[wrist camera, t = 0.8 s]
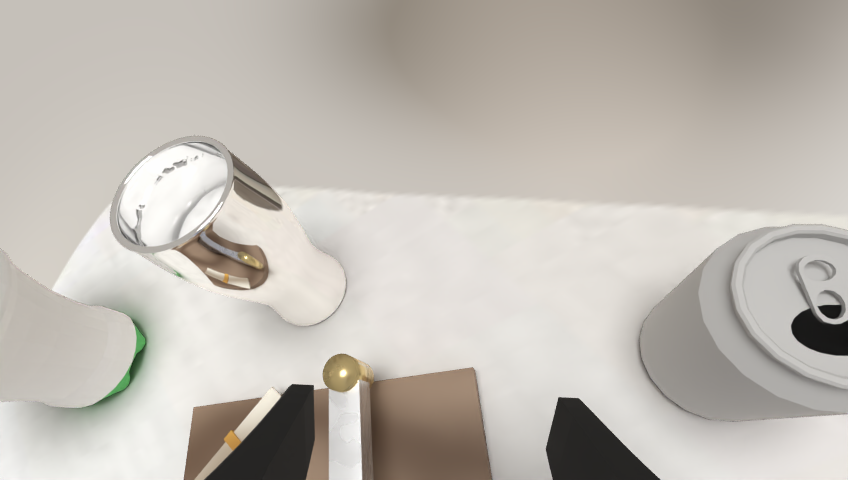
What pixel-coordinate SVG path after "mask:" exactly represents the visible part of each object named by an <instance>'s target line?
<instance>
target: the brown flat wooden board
mask: <svg viewBox="0 0 848 480" xmlns="http://www.w3.org/2000/svg"><path fill="white" fill-rule="evenodd" d="M281 396H282V395H280V394H279V393H278V392H277V391H276V390H275V389H274V387H271V388H270V389H269V391H268V392H267V393H266V394H265V395H264V397H263V398H256V399H249V400H242V401H235V402H228V403H221V404H214V405H207V406H200V407H194V409H193V416H192V423H191V430H190V438H189V445H188V452H187V459H186V467H185V474H184V480H204V479H205V478H206V477H207V476H208V475H209V474H210V473H211V472H212V471H213V470H214V469H215V468H216V467H217V466H218V465H219V464H220V463H221V462H222V461H223V460H224V459H225V458H226V457H227V456H228V455H229V454H230V453H231V452H232V451H233V450H234V449H235V448H236V447H237V446H238V445H239V444H240V443H241V442H242V441H243V440H244V439H245V438H246V437H247V436H248V434H249V433H250V432H251V431H252V430H253V429H254V428H255V427H256V426H257V425H258V423H259V422H260V421H261V420H262V419H263V418H264V417H265V415H266V414H267V413H268V412H269V411H270V410H271V408H272V407H273V406H274V405H275V404H276V402H277V401H278V400H279V399H280V397H281ZM370 410H371V434H372V457H373V480H492V476H491V470H490V463H489V457H488V451H487V444H486V438H485V431H484V425H483V419H482V412H481V406H480V399H479V393H478V387H477V380H476V374H475V370H474V368H466V369H459V370H452V371H445V372H438V373H431V374H424V375H417V376H410V377H403V378H396V379H389V380H382V381H375V382H373V384H372V386H371V388H370ZM314 420H315V441H314V446H313V451H312V455H311V460H310V464H309V469H308V473H307V477H306V480H329V388H326V389H319V390H314Z"/></svg>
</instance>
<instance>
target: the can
mask: <svg viewBox="0 0 848 480" xmlns="http://www.w3.org/2000/svg"><path fill="white" fill-rule="evenodd" d="M640 348H641V357H642V360H643V363H644V365H645V367H646V369H647V371H648V374H649V376H650V378H651V379H652V381H653V382H654V383H655V384H656V385H657V387H658V388H659V389H660V390H661V391H662V392H663V394H664V395H665V396H666V397H667V398H669V399H670V400H672V401H673V402H674V403H676V404H677V405H679V406H680V407H681V408H683V409H684V410H686V411H688V412H691V413H694V414H696V415H699V416H701V417H704V418H707V419H710V420H721V421H732V422H734V421H749V420H764V419H780V418H795V417H811V416H826V415H841V414H848V230H845V229H841V228H836V227H832V226H827V225H823V224H792V225H788V226H784V227H764V228H760V229H756V230H753V231H749V232H745V233H742V234H738V235H737V236H735V237H734V238H732V239H731V240H729V241H728V242H726V243H725V244H723V245H722V246H720V247H719V248H717V249H716V250H715V251H714V252H713V253H712V254H711V255H710V256H709V257H707V258H706V259H705V260H704V261H703V262H702V263H701V264H700V265H699V266H698V267H697V268H696V269H695V270H694V271H693V272H691V273H690V274H689V275H688V276H687V277H686V278H685V279H684V280H683V281H682V282H681V283H680V284H679V285H678V286H677V287H676V288H674V289H673V290H672V291H671V292H670V293H669V294H668V295H667V296H666V297H665V298H664V299H663V300H662V301H661V302H660V303H658V304H657V305H656V306H655V307H654V308H653V310H652V311H651V313H650V314H649V315H648V317H647V318H646V320H645V321H644V323H643V327H642V331H641V335H640Z"/></svg>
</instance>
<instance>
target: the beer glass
mask: <svg viewBox="0 0 848 480" xmlns="http://www.w3.org/2000/svg"><path fill="white" fill-rule="evenodd" d="M110 225H111V230H112V232H113V235H114V237H115V238H116V240H117V241H118V242H119V243H120V244H121V245H122V246H123V247H125V248H126V249H128V250H130V251H133V252H135V253H137V254H139V255H140V256H142V257H144V258H145V259H147V260H148V261H150V262H152V263H153V264H155V265H157V266H158V267H160V268H162V269H164V270H165V271H167V272H169V273H170V274H172V275H174V276H176V277H178V278H180V279H182V280H184V281H186V282H188V283H190V284H192V285H195V286H197V287H200V288H202V289H205V290H207V291H210V292H213V293H216V294H220V295H224V296H227V297H231V298H236V299H241V300H246V301H251V302H256V303H261V304H265V305H268V306H270V307H272V308H273V309H274V310H275V311H276V312H277V313H278V314H279V315H280V316H281V317H282V318H283V319H284V320H286V321H287V322H289V323H291V324H294V325H298V326H310V325H314V324H317V323H320V322H322V321H324V320H325V319H327V318H328V317H329V316H330V315H332V314H333V313H334V312H335V310H336V309H337V308H338V306H339V305H340V303H341V301H342V299H343V297H344V294H345V290H346V276H345V273H344V270H343V268H342V266H341V265H340V263H339V262H338V261H337V260H336V259H335V258H333V257H332V256H330V255H328V254H326V253H324V252H322V251H320V250H318V249H317V248H315V247H314V245H313V244H312V243H311V241H310V240H309V238H308V236H307V235H306V233H305V231H304V230H303V228H302V226H301V225H300V223H299V221H298V220H297V218H296V216H295V215H294V213H293V212H292V211H291V209H290V208H289V206H288V205H287V204H286V202H285V201H284V200H283V199H282V198H281V197H280V196H279V194H278V193H277V192H276V191H275V190H274V189H273V188H272V187H271V186H270V185H269V184H268V183H267V182H266V181H265V180H264V179H262V178H261V177H260V176H259V175H258V174H257V173H256V172H255V171H253V170H252V169H251V168H250V167H249V166H247V165H246V164H245V163H244V162H242V161H241V160H240V159H239V158H238V157H236V156H235V155H234V154H233V153H231V152H230V151H229V150H228V149H227V148H226V147H225V146H224V145H223V144H222V143H220V142H219V141H217V140H215V139H213V138H210V137H205V136H189V137H183V138H179V139H176V140H173V141H171V142H168V143H166V144H164V145H162V146H160V147H158V148H157V149H155V150H153V151H152V152H150V153H149V154H148V155H146V156H145V157H144V158H143V159H142V160H141V161H139V162H138V163H137V164H136V165H135V166H134V167H133V168H132V170H131V171H130V172H129V173H128V174H127V176H126V177H125V178H124V180H123V181H122V183H121V185H120V186H119V188H118V190H117V192H116V194H115V197H114V199H113V202H112V206H111V211H110Z"/></svg>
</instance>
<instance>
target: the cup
mask: <svg viewBox="0 0 848 480" xmlns="http://www.w3.org/2000/svg"><path fill="white" fill-rule="evenodd" d="M144 345H145V338H144V337H143V335H142V334H141V333H140V332H139V330H138V329H137V327H136V326H135V325H134V323H133V322H132V320H131V318H130V317H128V316H127V315H126V314H124V313H122V312H118V311H115V310H112V309H109V308H105V307H102V306H88V305H85V304H82V303H79V302H76V301H74V300H71V299H69V298H67V297H65V296H62V295H60V294H58V293H56V292H54V291H52V290H50V289H48V288H47V287H45V286H44V285H42V284H41V283H39V282H38V281H36V280H35V279H33V278H31V277H30V276H28V275H27V274H26V273H24V272H23V271H22V270H21V269H19V268H18V267H17V266H16V265H14V264H13V263H12V261H11V259H10V258H9V256H8V255H7V253H6V252H4V251H3V250H2V249H1V248H0V402H10V401H31V402H41V403H44V404H46V405H49V406H52V407H67V408H83V407H87V406H90V405H93V404H95V403H96V402H98V401H100V400H101V399H104V398H106V397H108V396H110V395H112V394H114V393H116V392H119V391H121V390H124V389H125V388H126V387H127V386H128V385H129V382H130V374H129V371H130V367H131V364H132V362H133V360H134V358H135V356H136V354H137V353H138V352H140V351H141V350H142V349H143V347H144Z"/></svg>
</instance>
